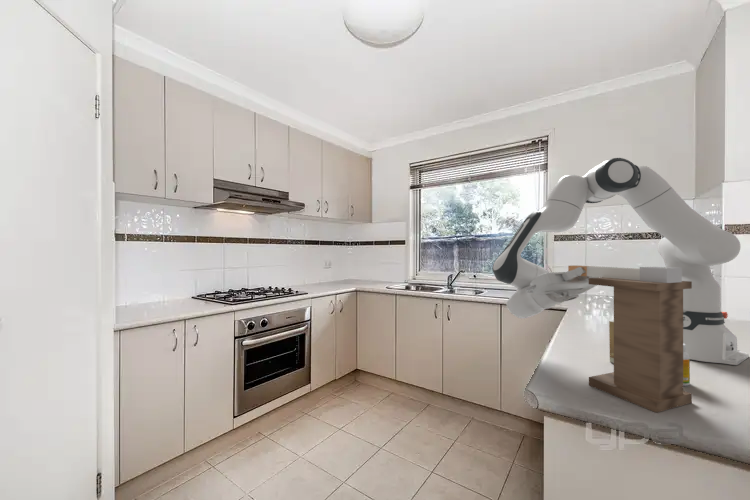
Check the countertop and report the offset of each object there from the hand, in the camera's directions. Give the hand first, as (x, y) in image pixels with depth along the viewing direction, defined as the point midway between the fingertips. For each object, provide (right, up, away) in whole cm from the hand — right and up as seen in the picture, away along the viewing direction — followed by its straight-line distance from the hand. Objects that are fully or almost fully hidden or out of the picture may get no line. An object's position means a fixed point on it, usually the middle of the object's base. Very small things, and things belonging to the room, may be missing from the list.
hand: (589, 269), depth 84 cm
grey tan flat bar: (+2, -2, -6) cm, 7 cm away
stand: (+4, -28, -11) cm, 30 cm away
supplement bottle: (+19, -28, -4) cm, 34 cm away
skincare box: (+16, -28, +9) cm, 33 cm away
